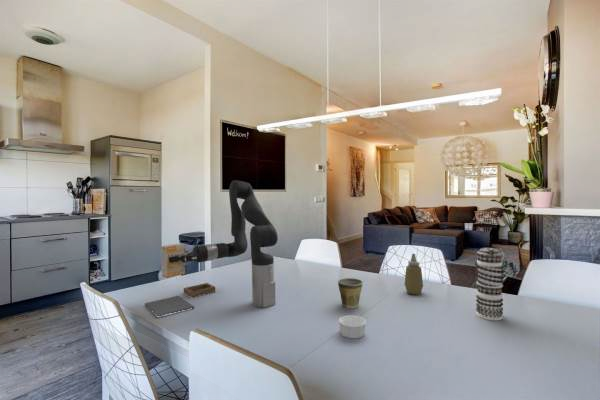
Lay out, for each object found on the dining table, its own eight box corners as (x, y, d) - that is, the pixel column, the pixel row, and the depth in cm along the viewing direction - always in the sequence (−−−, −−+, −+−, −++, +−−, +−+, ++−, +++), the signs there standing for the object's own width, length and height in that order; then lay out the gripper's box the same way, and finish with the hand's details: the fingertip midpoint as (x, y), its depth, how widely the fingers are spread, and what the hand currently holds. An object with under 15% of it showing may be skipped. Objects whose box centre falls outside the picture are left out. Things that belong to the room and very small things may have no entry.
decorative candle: (490, 322, 108) (490, 252, 107) (469, 312, 116) (469, 247, 116) (510, 319, 110) (510, 250, 109) (488, 309, 119) (488, 246, 118)
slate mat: (194, 308, 125) (194, 306, 125) (157, 318, 115) (157, 315, 115) (178, 297, 138) (178, 295, 138) (144, 305, 129) (144, 303, 129)
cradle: (215, 292, 145) (215, 286, 145) (190, 297, 138) (190, 292, 137) (207, 287, 152) (207, 282, 152) (183, 293, 144) (183, 288, 144)
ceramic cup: (362, 310, 120) (362, 285, 119) (337, 309, 122) (337, 284, 121) (362, 299, 132) (362, 276, 132) (339, 298, 134) (339, 275, 134)
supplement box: (167, 278, 125) (165, 246, 125) (161, 276, 128) (160, 245, 128) (185, 274, 131) (184, 244, 131) (180, 272, 134) (178, 243, 134)
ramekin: (347, 325, 107) (347, 313, 107) (370, 332, 102) (370, 319, 101) (333, 334, 100) (333, 321, 100) (357, 342, 95) (357, 329, 95)
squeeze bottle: (420, 290, 143) (420, 252, 143) (425, 295, 135) (425, 255, 135) (402, 289, 144) (402, 252, 144) (406, 295, 136) (406, 255, 136)
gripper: (199, 242, 144) (161, 247, 133) (212, 246, 133) (172, 252, 122) (199, 258, 144) (161, 264, 133) (212, 263, 133) (172, 271, 122)
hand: (167, 258), depth 128 cm, fingers closed on supplement box, 5 cm apart
